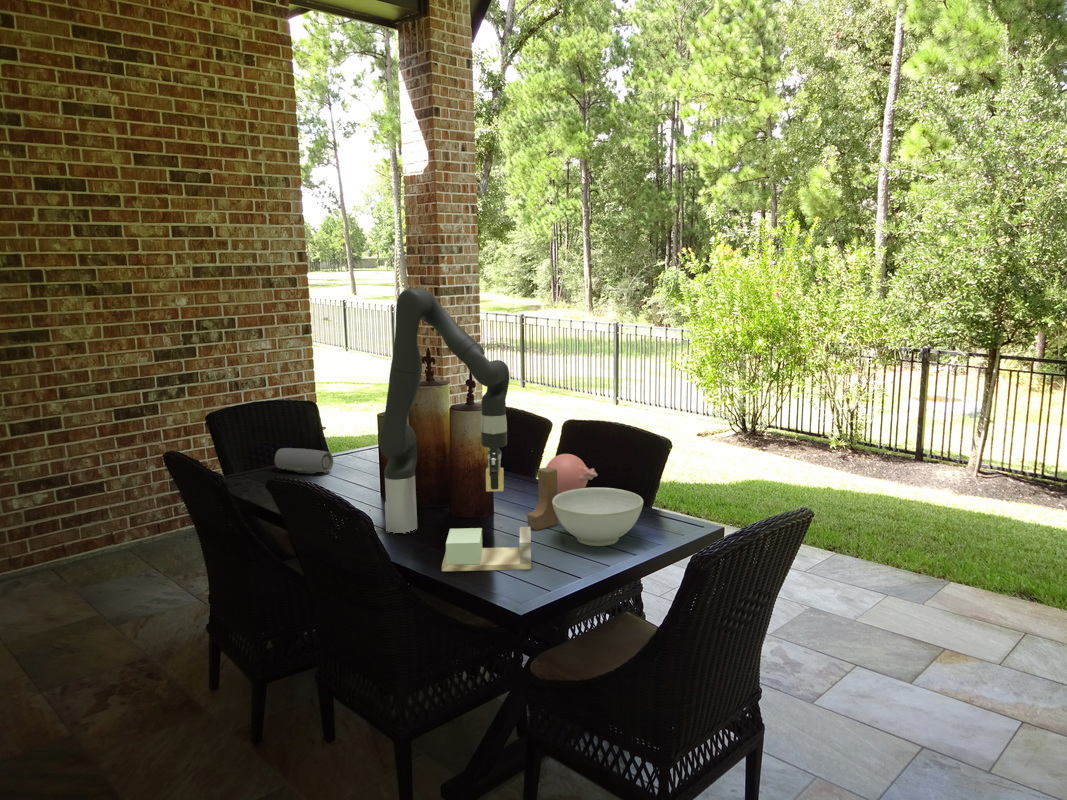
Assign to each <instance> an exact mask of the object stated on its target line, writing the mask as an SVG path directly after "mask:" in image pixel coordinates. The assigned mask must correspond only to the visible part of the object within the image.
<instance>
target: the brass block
mask: <svg viewBox="0 0 1067 800" xmlns="http://www.w3.org/2000/svg"><path fill="white" fill-rule="evenodd" d="M492 472H496V470H492ZM498 472H499V476H498V489H491V477H490V475H489V474H490V469H489V468H488V467H486V469H485V492H504V489H505V488H504V487H505V484H504V483H505V482H504V481H505V480H504V467H500V468H499V470H498Z"/></svg>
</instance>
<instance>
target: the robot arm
mask: <svg viewBox="0 0 1067 800" xmlns="http://www.w3.org/2000/svg"><path fill="white" fill-rule="evenodd" d="M395 308H396V309H395V328H394V329H395V333H394V342H393V348H392V349H393V351H392V357H391V363H390V369H389V370H390V372H389V379H388V386H387V395H386V404H385V410H384V415H383V419H382V422H381V423H382V424H381V428H380V430H379V431H380V432H379V436H378V446H379V449H380V451H381V453H382V454H383V455H384V456H385V457H386V458H387V457H388V461H387V463H386V465H385V467H384V485H385V486H384V489H385V502H384V514H385V516H384V517H385V518H384V519H385V532H386V533H390V532H393V533H392V534H395V533H403V534H407V533H406V532H409V533H411V532H410V531H413V530H415V529H416V530H417V529H418V516H417V513H418V512H417V495H416V494H417V491H416V472H415V471H416V467H417V462H418V461H417V460H418V459H417V457H418V455H417V453H418V451H417V449H418V448H417V435H416V433H415V430H414V429H413V427H412V426H411V425H409V424H407V423H408V416H409V413H410V411H411V407H412V405H413V403H414V400H415V399H416V396H417V394H418V392H419V388H420V384H421V378H422V371H423V361H422V356H421V352H420V348H419V344H418V333H419V328H420V327H419V326H420V321H423V322H425V323H427V324H428V325H430V326H431V327H433V328H434V330H436V331H437V333H438V334H439V335H440V337H441V339H442V340H443V342H444V343H445V345H446V347H447V348H448V350H450V352H451V353H452V354H453V355H454V356H455V357H457V358H458V360H460V361H461V362H462V363H463V364H464V365H465V366H466V367H467V369H468V371H469V372H470V373H471V375H472V376H473V378H474V379H475V380H476V381H477V382H478V383H479V384H481V385H482V386H484V387H486V392H485V394H483V395H482V396H481V404H480V405H481V408H480V409H481V419H480V438H481V439H480V445H481V446H482V447H484V448H488V449H489V450H487V453H486V454H487V459H488V460H487V461H488V464H487V465H488V466H487V468H489V469H490V474H489V475H490V477H491V489H498V476H499V472H498V470H499V468H501V463H502V462H501V459H502V450H500V448H503V447H506V446H507V445H508V425H507V424H508V421H507V410H506V409H507V405H506V404H507V403H506V398H507V395H508V389H509V385H510V384H509V383H510V369H509V367H508V365H507V364H506V362H505V361H503V360H499V359H496V360H489V359H488V358H487V357H486V356H485V349H484V348H483V347H482V345H480V343H478V342H477V341H476V340H475V339H474V338H473V337H472V336H470V335H469V333H467V332H466V331H465V330H464V329H463V328H462V327H461V326H460V325H459V324H458V323H457V322H456V320H454V319H453V318H452V316H451V315H450V314H449V313H448V312H447V310H446V309H445V308H444V307H443V306H442V304H441V303H440V302H439V300H438V299H437V298H436V297H435V296H434V295H433V293H432V292H431V291H429V290H427V289H423V288H406V289H404V290H403V291H402V292H400V294H399V295H398V297H397V300H396V305H395ZM492 470H496V472H492ZM416 530H415V531H416ZM387 531H388V532H387ZM413 532H414V531H413Z"/></svg>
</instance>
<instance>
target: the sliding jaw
mask: <svg viewBox="0 0 1067 800" xmlns="http://www.w3.org/2000/svg"><path fill="white" fill-rule="evenodd" d="M483 548H484V547H483V528H482V527H476V528H475V527H469V528H449V531H448V535H447V538H446V542H445V552H446V560H447V565H462V564H480V562H481V555H482V549H483Z"/></svg>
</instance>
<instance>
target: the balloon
mask: <svg viewBox="0 0 1067 800" xmlns="http://www.w3.org/2000/svg"><path fill="white" fill-rule="evenodd" d="M546 467H550V468H553V469H557V492H558V494H560V493H562V492H565V491H569V490H574V489H580V488H586V487H587V484H588V481H589V480H590V481H591V480H593V479H594V478H596V477H598V473H597V472H596V470H595V468H593V467H592V468H589V467H587V465H586V464H585V463H584V461H583V460H582V459H581V458H580V457H578V456H577V455H574V454H570V453H561V454H558V455H556V456H554V457H553V458H552V459H551V460H550V461H549V462H548V463H547V465H546ZM546 467H545V468H546Z"/></svg>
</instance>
